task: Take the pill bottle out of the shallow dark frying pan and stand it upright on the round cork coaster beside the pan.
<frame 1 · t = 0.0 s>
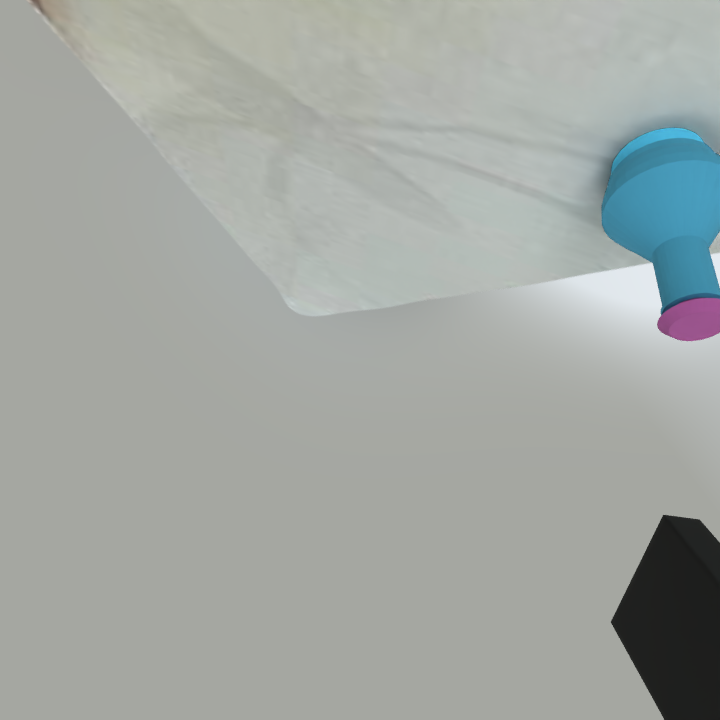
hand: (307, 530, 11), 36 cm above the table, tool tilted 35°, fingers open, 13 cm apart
perfume bottle: (656, 161, 49), on the table
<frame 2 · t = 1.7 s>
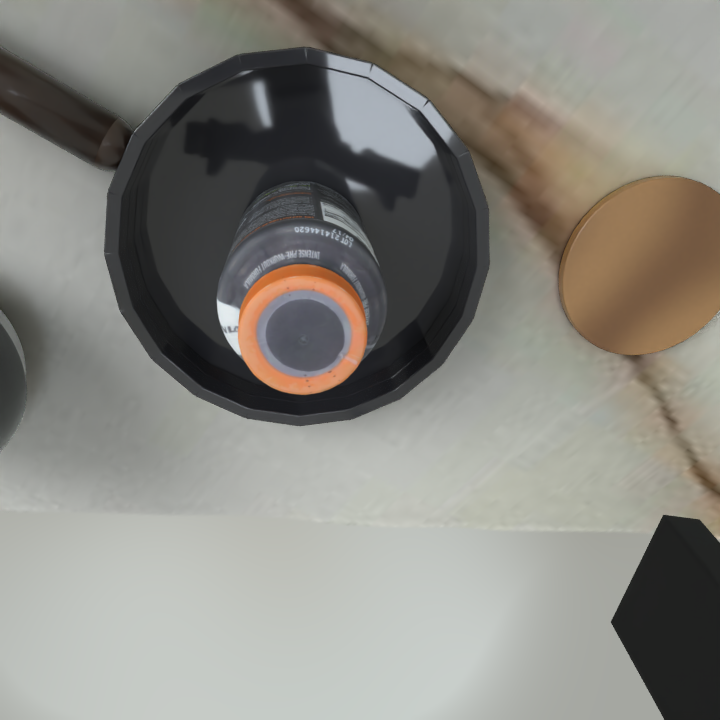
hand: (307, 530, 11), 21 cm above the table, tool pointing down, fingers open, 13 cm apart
pill bottle: (302, 243, 30), resting on pan
coaster: (646, 268, 32), on the table
pan: (302, 242, 30), on the table
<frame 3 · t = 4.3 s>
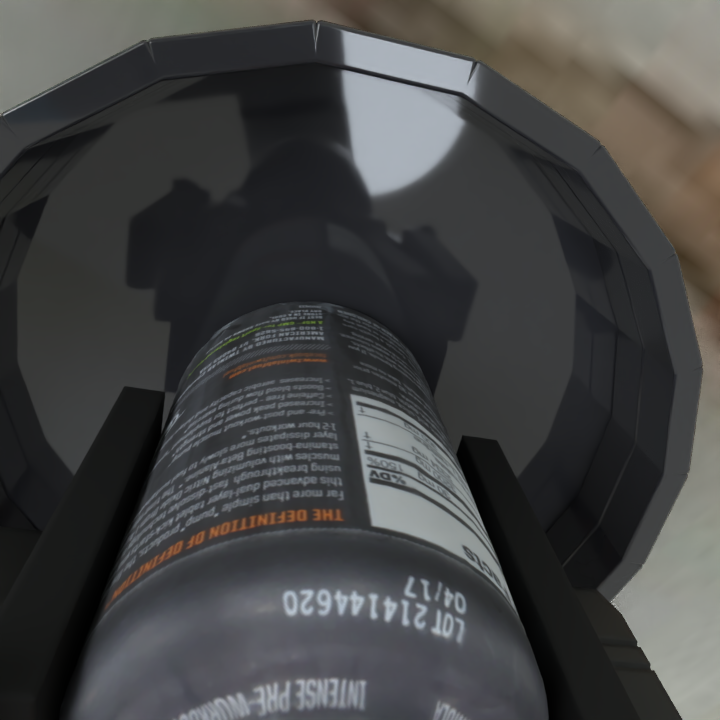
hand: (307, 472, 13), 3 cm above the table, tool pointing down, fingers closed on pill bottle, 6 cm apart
pill bottle: (306, 408, 16), resting on pan, touching gripper
pan: (306, 404, 16), on the table
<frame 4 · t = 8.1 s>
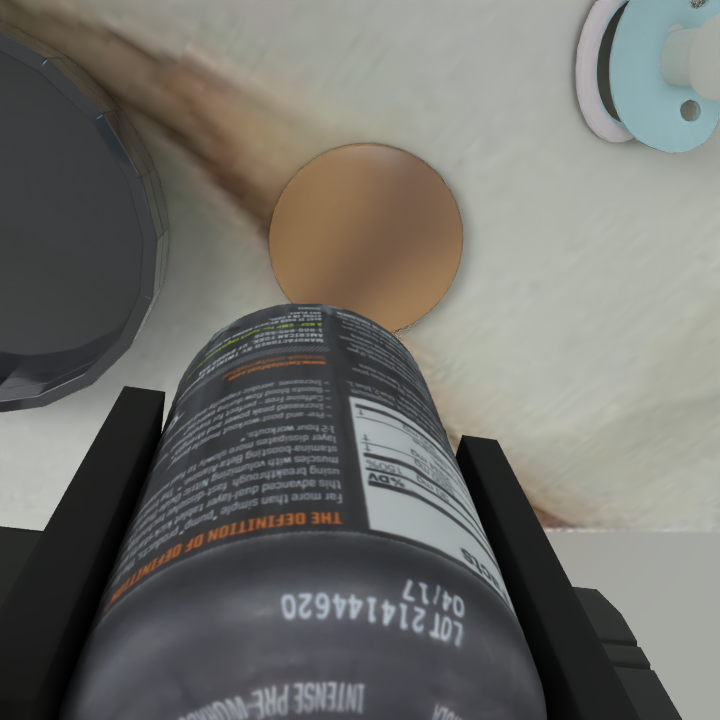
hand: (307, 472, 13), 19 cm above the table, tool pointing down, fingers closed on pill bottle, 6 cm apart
pacifier: (636, 60, 28), on the table
pill bottle: (306, 409, 16), point 16 cm above the table, touching gripper
coaster: (366, 243, 30), on the table
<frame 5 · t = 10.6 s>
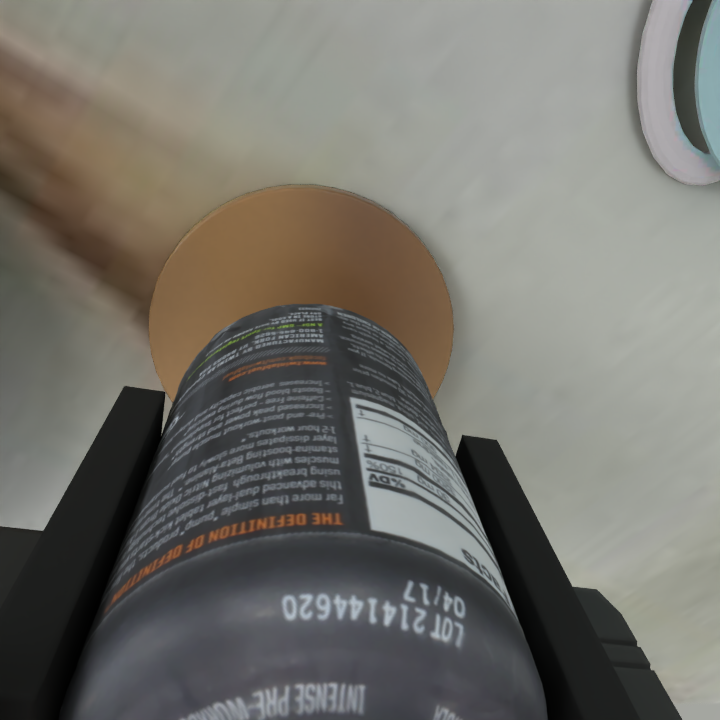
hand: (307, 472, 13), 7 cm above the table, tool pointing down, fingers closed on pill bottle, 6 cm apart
pill bottle: (306, 410, 16), point 5 cm above the table, touching gripper
coaster: (304, 334, 20), on the table
when the fingers open (3 cm above the table, at t = 12.0 s): pill bottle stays where it is, resting on coaster.
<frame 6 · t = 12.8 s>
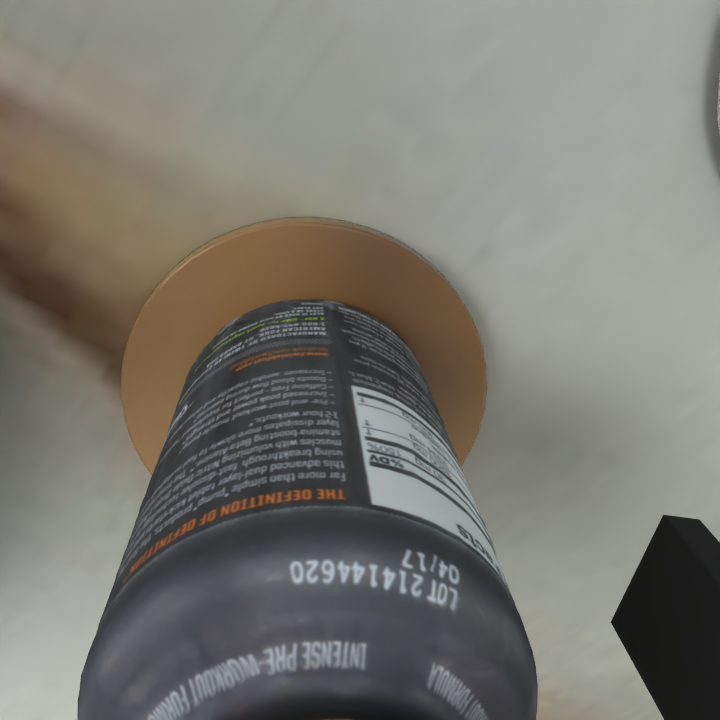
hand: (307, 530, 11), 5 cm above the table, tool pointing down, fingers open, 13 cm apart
pill bottle: (308, 402, 16), resting on coaster
coaster: (308, 392, 16), on the table
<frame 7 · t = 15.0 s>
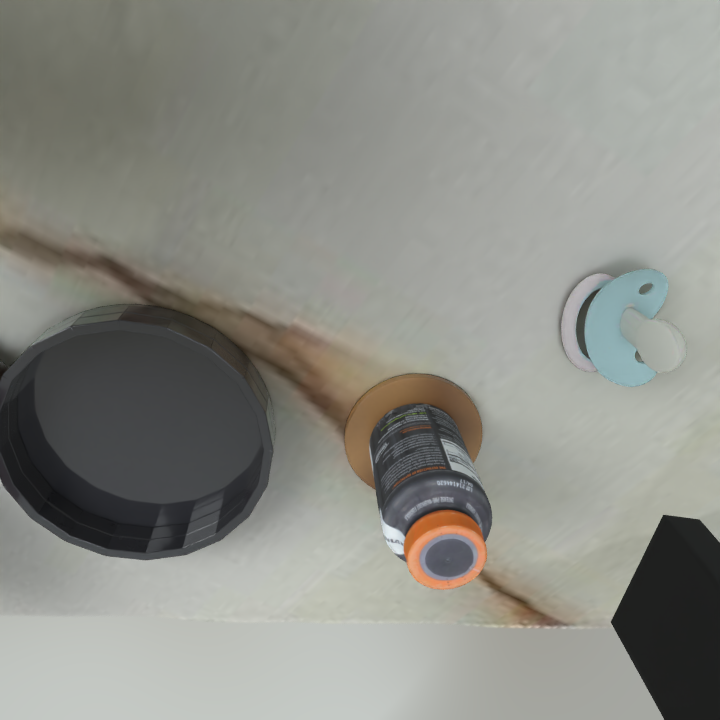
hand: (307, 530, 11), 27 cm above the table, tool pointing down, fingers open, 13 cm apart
pacifier: (604, 318, 40), on the table
pill bottle: (413, 439, 42), resting on coaster
coaster: (412, 435, 42), on the table
pan: (145, 425, 41), on the table
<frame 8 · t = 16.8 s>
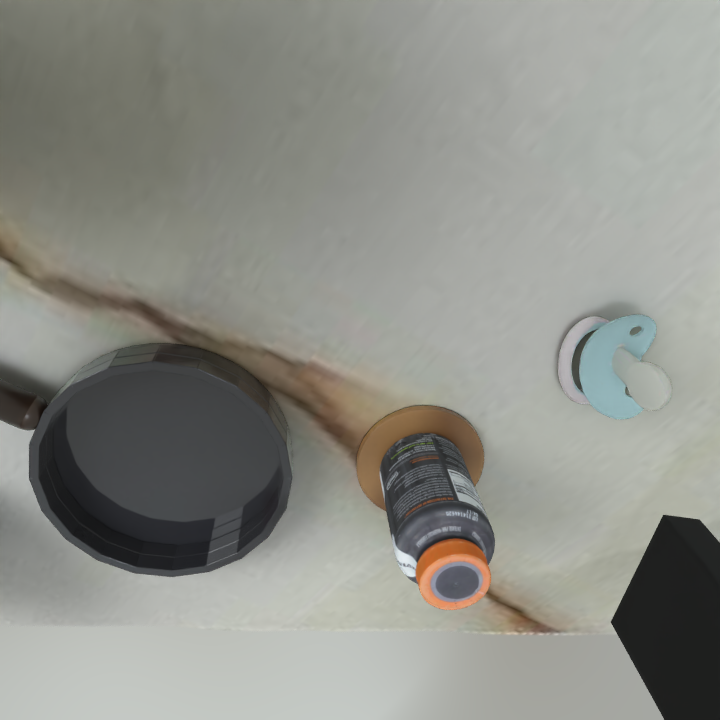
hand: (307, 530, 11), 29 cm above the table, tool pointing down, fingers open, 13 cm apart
pacifier: (597, 355, 43), on the table
pill bottle: (420, 465, 45), resting on coaster
coaster: (419, 460, 45), on the table
pan: (171, 452, 44), on the table
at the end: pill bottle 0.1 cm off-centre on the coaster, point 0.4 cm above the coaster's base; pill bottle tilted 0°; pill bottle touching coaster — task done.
